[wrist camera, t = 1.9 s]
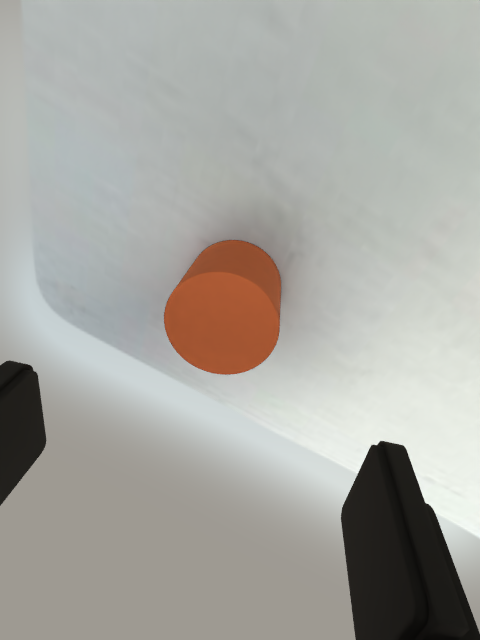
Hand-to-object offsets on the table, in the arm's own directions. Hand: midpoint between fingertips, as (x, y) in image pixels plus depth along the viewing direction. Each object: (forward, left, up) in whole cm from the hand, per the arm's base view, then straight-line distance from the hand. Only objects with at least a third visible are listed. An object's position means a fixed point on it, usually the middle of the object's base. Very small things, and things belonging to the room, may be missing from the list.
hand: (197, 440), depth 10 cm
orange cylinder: (0, 0, -12) cm, 12 cm away
